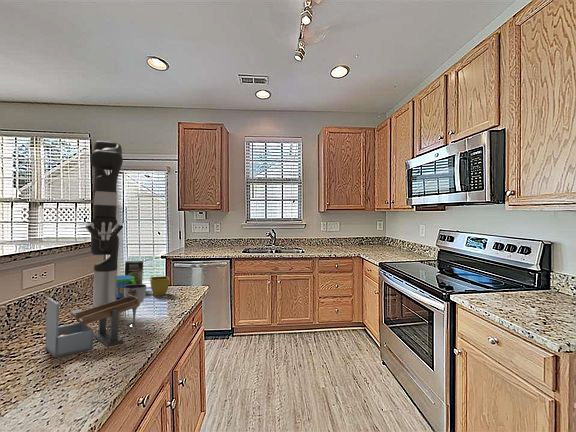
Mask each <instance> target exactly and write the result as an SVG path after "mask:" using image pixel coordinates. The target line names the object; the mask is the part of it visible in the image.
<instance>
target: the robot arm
mask: <svg viewBox="0 0 576 432" xmlns="http://www.w3.org/2000/svg"><path fill="white" fill-rule="evenodd" d="M89 158H90V159H89V160H90V165H91V166H92V167H93V168H94V180H93V182H94V183H93V194H92V195H93V197H92V199H93V201H92V207H93V208H92V211H93V213H92V220H91V223H89V224H87V225H85V229H86V230H87V232H89V233H90V236H91V237H90V238H91V239H90V252H91V254H92V255H93V256H103V255H104V256H109V257H108V258H106V259H105V260H102V261H98V262H96V263H95V264H94V265H93V287H92V288H93V290H92V291H93V293H92V308H93V307H97V306H100V304H105V303H109V302H113V301H116V300H117V298H116V297H117V276H118V257H119V245H120V238H119V236H118V234H120V232H121V231H122V229H123V228H124V227H123V225H121V224H119V223H118V220H117V210H118V209H117V206H118V205H117V204H118V195H117V194H118V191H117V186H118V185H117V184H118V177H119V173H120V171H121V169H122V165H123V161H124V160H123V159H124V158H123V151H122V146H121V144H120V143H118V142H114V141H108V140H107V141H105V140H96V141H95V143H94V147H93V151H92V153H91V154H90V157H89ZM105 170H107V171H111V172H110V173H109V174H107V172H106V171H105Z"/></svg>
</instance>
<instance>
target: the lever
mask: <svg viewBox="0 0 576 432" xmlns="http://www.w3.org/2000/svg"><path fill="white" fill-rule="evenodd" d="M140 305H141V304H139V298H137V297H135V296H132V295H128V297H125V298H121V299H120V298H118V299H116V301H113V302H109V303H106V304H103V305H100V306H97V307H93V306H92V307H90V308H88V309H84V310H82V309H81V308H77V309H74V310H72V311H70V312H69V314H70V316H72V317H74V318H75V320H76V322H78V323H81V324H83V325H89V324H91V323H95V322H99V320H101V319H104V318H106V319H107V318H111V311H112V310H117V309H118V310H119V314H121V313H123V312H127V311H130V310H132V309H133V308H136V307H138V308H139V307H140Z"/></svg>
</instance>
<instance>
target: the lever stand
mask: <svg viewBox="0 0 576 432" xmlns="http://www.w3.org/2000/svg"><path fill="white" fill-rule="evenodd" d="M105 304H106V303H105ZM100 305H103V304H100ZM119 314H120V313H119V310H118V309H117V310H112V311H111V316H110V330H109V329H107V318H104V319H101V320H98V331H97V332H93V338H95V339H97V341H99V342H100V343H102V344H103V345H104V346H106V347H112V346H116V345H119V344H123V343H124V341H125V340H124V339H123V338H122V337H120V336H119V317H120V315H119Z"/></svg>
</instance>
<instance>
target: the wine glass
mask: <svg viewBox="0 0 576 432" xmlns="http://www.w3.org/2000/svg"><path fill="white" fill-rule="evenodd" d="M128 295H132V296H135V297H137V298H139V304H140V305H141V304H142V303H143V302H144V300H145V298H146V295H147V285H146V284H145V283H142V284H129V285H125V286H124V298H125V297H128ZM138 308H139V307H136V308H133V309H131V310H132V321H129V322H126V323H124V324H123V327H125V328H128V329H129V328H130V329H131V328H139V327H141V326H144V324H145V323H144V322H143V321H139V320H138V321H136V314H137V309H138Z"/></svg>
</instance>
